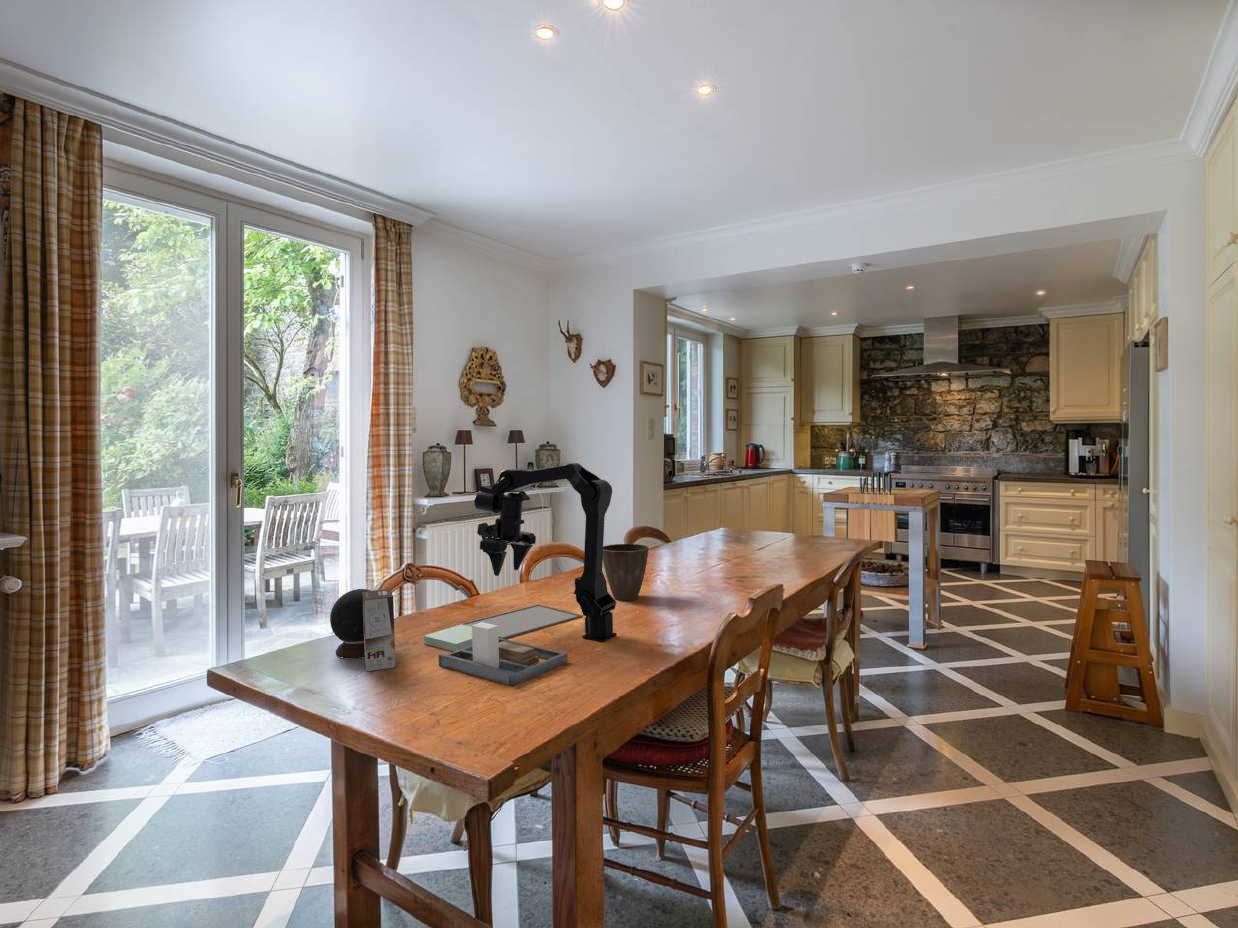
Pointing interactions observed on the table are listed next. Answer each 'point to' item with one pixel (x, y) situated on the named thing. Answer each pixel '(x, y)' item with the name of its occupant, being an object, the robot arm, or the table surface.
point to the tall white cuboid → (485, 644)
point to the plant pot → (625, 569)
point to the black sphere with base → (349, 624)
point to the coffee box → (379, 629)
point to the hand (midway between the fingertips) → (506, 572)
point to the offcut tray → (503, 664)
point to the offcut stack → (517, 653)
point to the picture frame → (525, 620)
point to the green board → (451, 638)
